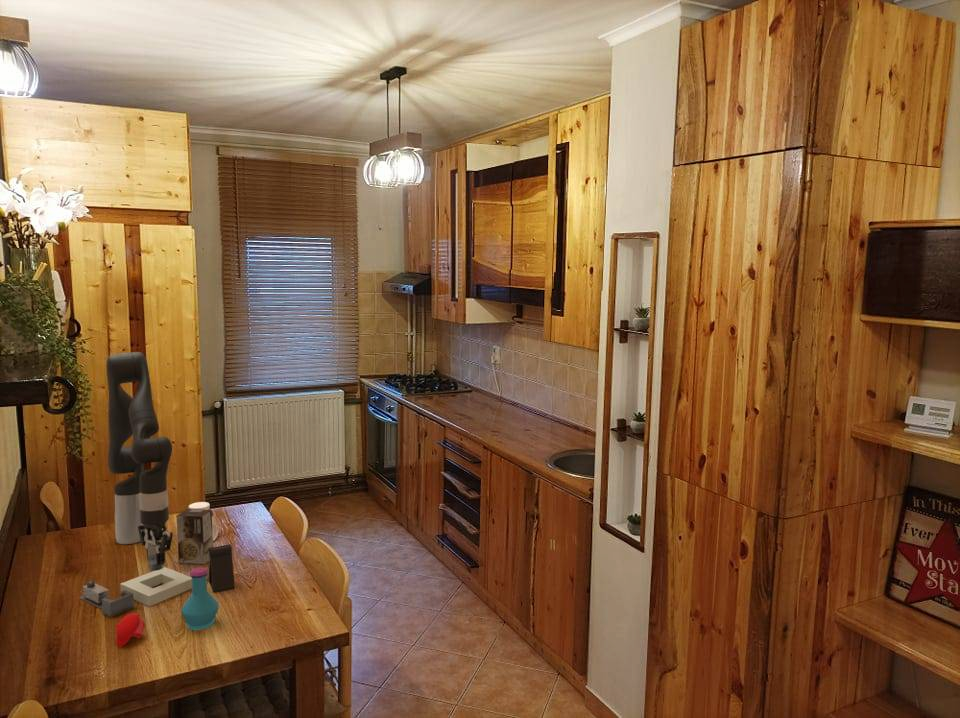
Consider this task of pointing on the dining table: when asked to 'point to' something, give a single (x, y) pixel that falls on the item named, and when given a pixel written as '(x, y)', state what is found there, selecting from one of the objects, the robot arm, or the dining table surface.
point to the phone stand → (221, 568)
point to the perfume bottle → (199, 602)
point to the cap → (129, 629)
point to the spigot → (153, 556)
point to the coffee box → (194, 535)
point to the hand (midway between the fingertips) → (156, 562)
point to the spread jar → (206, 507)
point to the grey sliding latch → (114, 604)
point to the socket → (150, 596)
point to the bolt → (95, 592)
